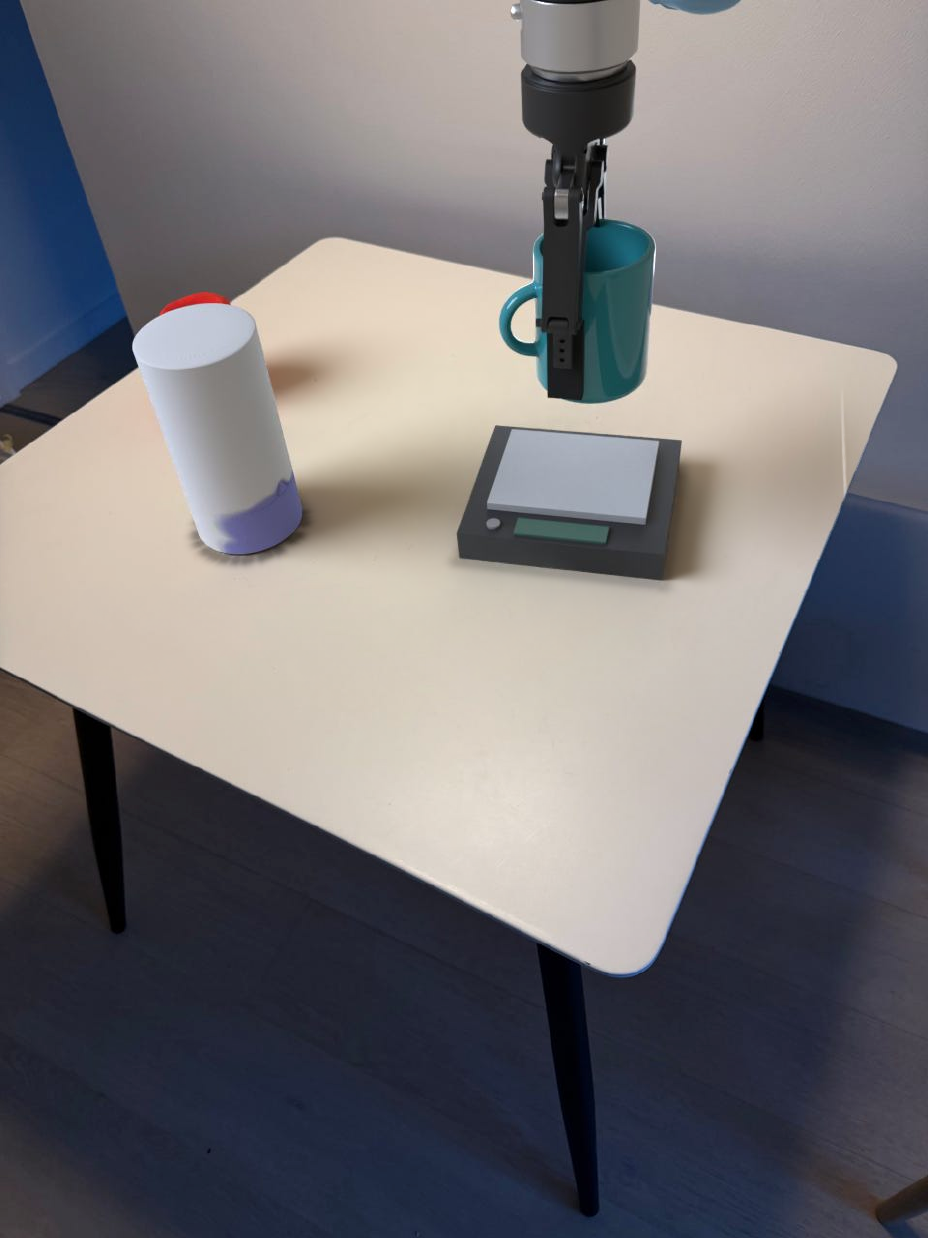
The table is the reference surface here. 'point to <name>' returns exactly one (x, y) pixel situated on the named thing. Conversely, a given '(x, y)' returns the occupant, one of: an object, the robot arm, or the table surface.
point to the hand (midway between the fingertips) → (575, 361)
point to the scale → (573, 502)
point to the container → (221, 425)
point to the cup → (600, 311)
